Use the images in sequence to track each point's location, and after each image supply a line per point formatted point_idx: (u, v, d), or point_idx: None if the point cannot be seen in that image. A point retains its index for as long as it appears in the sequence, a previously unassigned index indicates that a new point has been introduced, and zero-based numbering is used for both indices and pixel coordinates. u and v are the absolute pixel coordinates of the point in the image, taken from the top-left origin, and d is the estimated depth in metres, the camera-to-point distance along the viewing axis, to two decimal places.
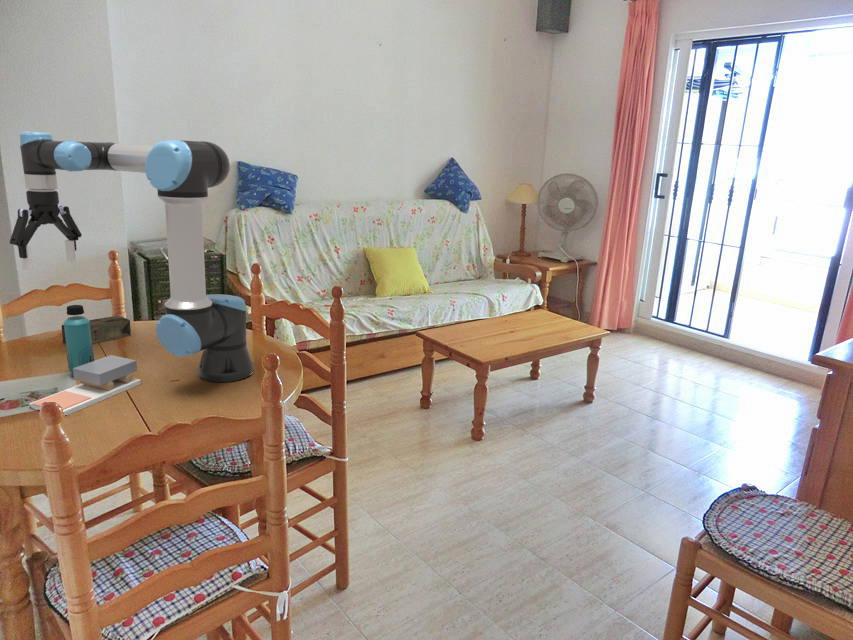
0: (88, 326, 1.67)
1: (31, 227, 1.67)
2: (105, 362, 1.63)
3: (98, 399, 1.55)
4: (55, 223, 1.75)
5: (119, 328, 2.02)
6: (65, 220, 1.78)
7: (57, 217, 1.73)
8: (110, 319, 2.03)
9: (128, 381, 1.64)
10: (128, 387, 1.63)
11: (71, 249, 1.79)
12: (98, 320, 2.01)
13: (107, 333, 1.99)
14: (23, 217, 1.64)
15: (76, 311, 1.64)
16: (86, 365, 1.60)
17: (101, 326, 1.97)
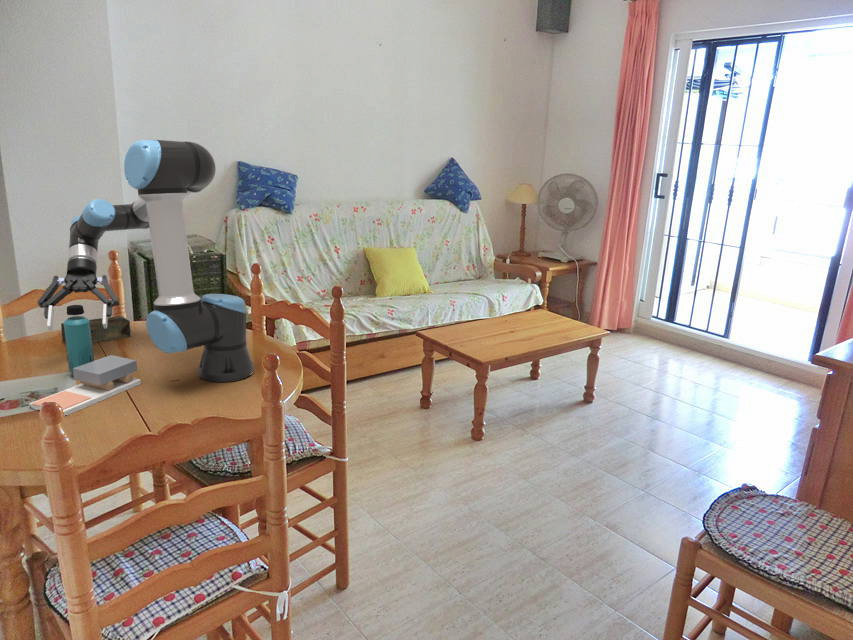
0: (88, 326, 1.67)
1: None
2: (105, 362, 1.63)
3: (98, 399, 1.55)
4: (92, 291, 1.77)
5: (118, 329, 2.01)
6: (106, 290, 1.79)
7: (89, 282, 1.76)
8: (111, 319, 2.03)
9: (128, 381, 1.64)
10: (128, 387, 1.63)
11: (103, 312, 1.74)
12: (99, 320, 2.02)
13: (105, 334, 1.99)
14: None
15: (76, 311, 1.64)
16: (86, 365, 1.60)
17: (98, 326, 1.97)
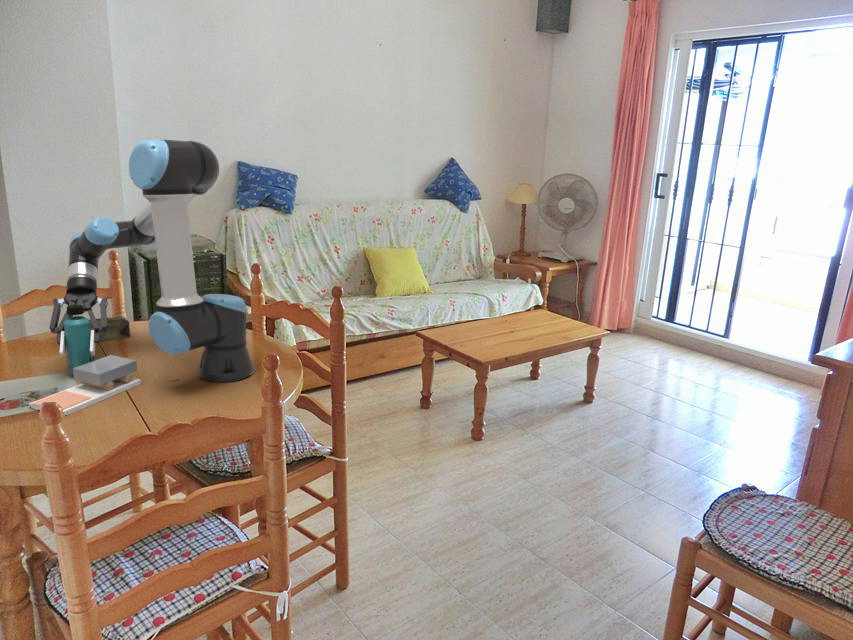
0: (88, 326, 1.67)
1: None
2: (105, 362, 1.63)
3: (98, 399, 1.55)
4: None
5: (117, 329, 2.01)
6: None
7: (87, 302, 1.72)
8: (111, 320, 2.02)
9: (128, 381, 1.64)
10: (128, 387, 1.63)
11: None
12: (99, 320, 2.02)
13: (104, 334, 1.98)
14: (54, 305, 1.70)
15: (76, 311, 1.64)
16: (86, 365, 1.60)
17: None
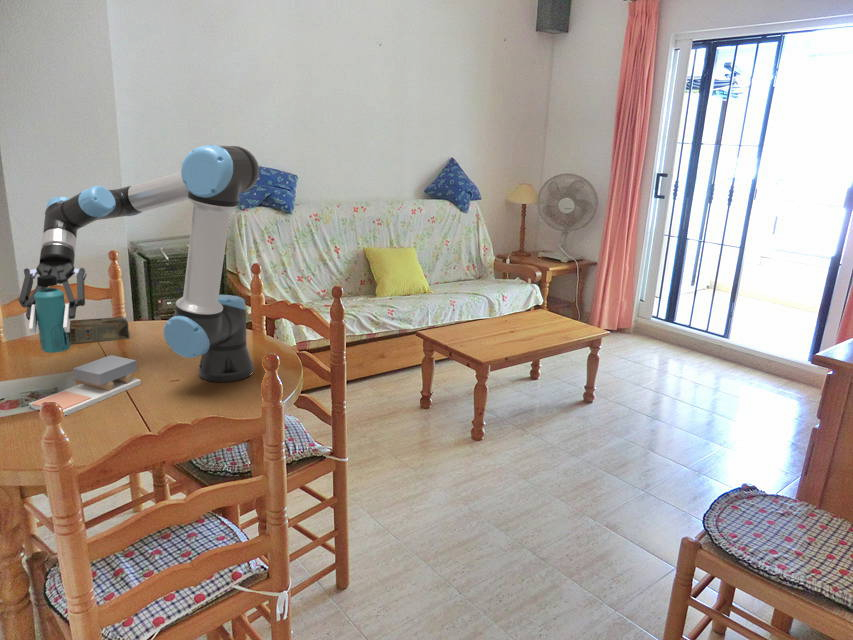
0: (62, 299, 1.49)
1: None
2: (105, 362, 1.63)
3: (98, 399, 1.55)
4: None
5: (115, 330, 2.00)
6: None
7: (62, 273, 1.53)
8: (111, 320, 2.02)
9: (128, 381, 1.64)
10: (128, 387, 1.63)
11: None
12: (100, 320, 2.02)
13: (102, 334, 1.98)
14: (25, 276, 1.51)
15: (47, 282, 1.46)
16: (86, 365, 1.60)
17: (95, 326, 1.97)
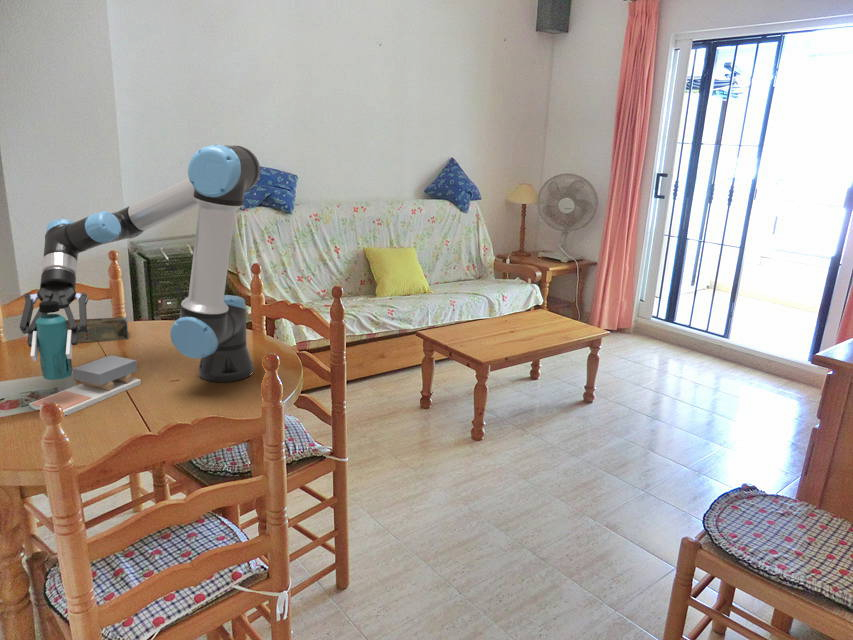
0: (64, 325, 1.46)
1: None
2: (105, 362, 1.63)
3: (98, 399, 1.55)
4: None
5: (114, 330, 2.00)
6: None
7: (64, 298, 1.50)
8: (111, 320, 2.02)
9: (128, 381, 1.64)
10: (128, 387, 1.63)
11: None
12: (100, 320, 2.02)
13: (100, 334, 1.98)
14: None
15: (50, 308, 1.43)
16: (86, 365, 1.60)
17: (93, 326, 1.97)
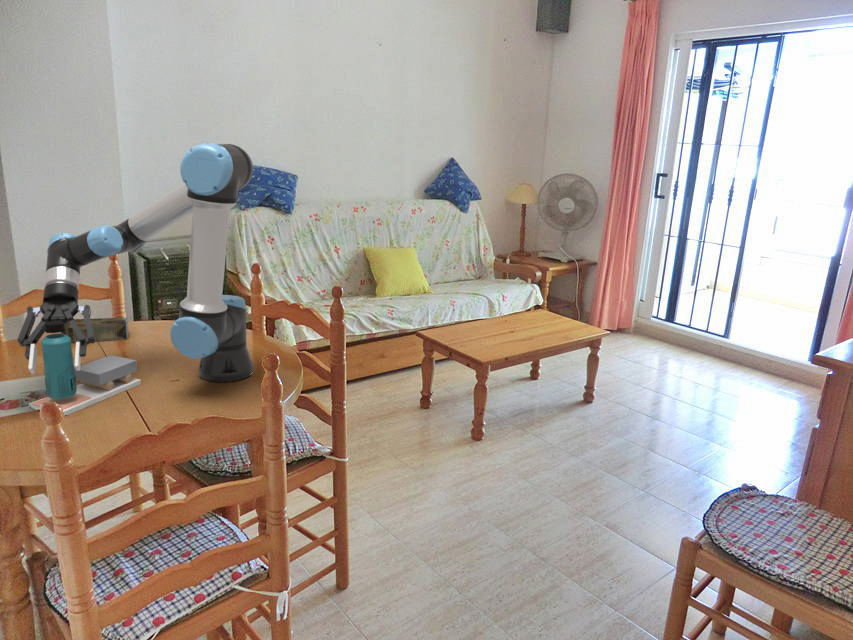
0: (69, 345, 1.48)
1: None
2: (105, 362, 1.63)
3: (98, 399, 1.55)
4: None
5: (113, 330, 2.00)
6: None
7: (67, 311, 1.51)
8: (111, 320, 2.02)
9: (128, 381, 1.64)
10: (128, 387, 1.63)
11: None
12: (100, 320, 2.02)
13: (99, 334, 1.98)
14: None
15: (55, 328, 1.45)
16: (86, 365, 1.60)
17: (93, 326, 1.97)
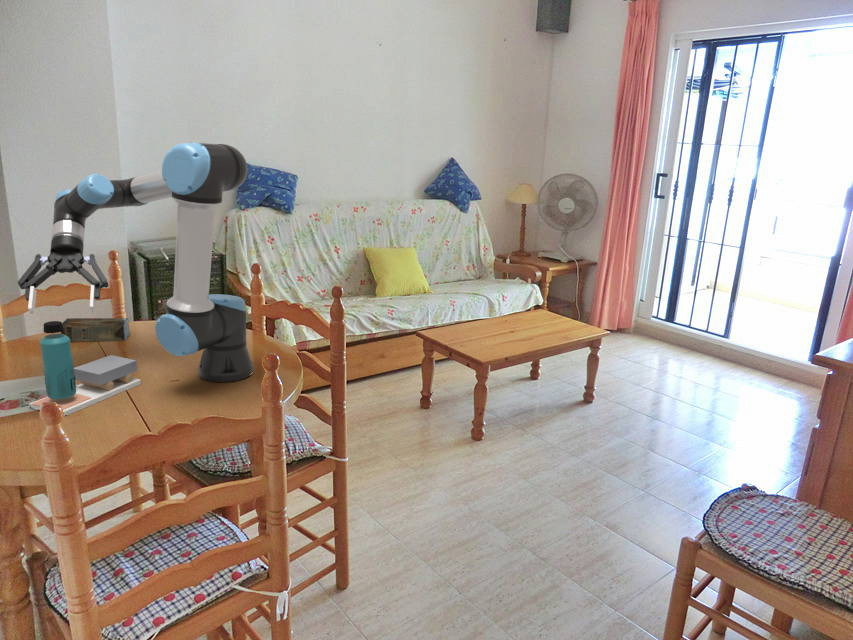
0: (68, 345, 1.47)
1: None
2: (105, 362, 1.63)
3: (98, 399, 1.55)
4: (78, 271, 1.62)
5: (111, 331, 1.99)
6: (94, 270, 1.63)
7: (75, 261, 1.61)
8: (110, 321, 2.01)
9: (128, 381, 1.64)
10: (128, 387, 1.63)
11: (90, 294, 1.58)
12: (101, 320, 2.02)
13: (98, 334, 1.98)
14: None
15: (54, 328, 1.45)
16: (86, 365, 1.60)
17: (91, 326, 1.97)
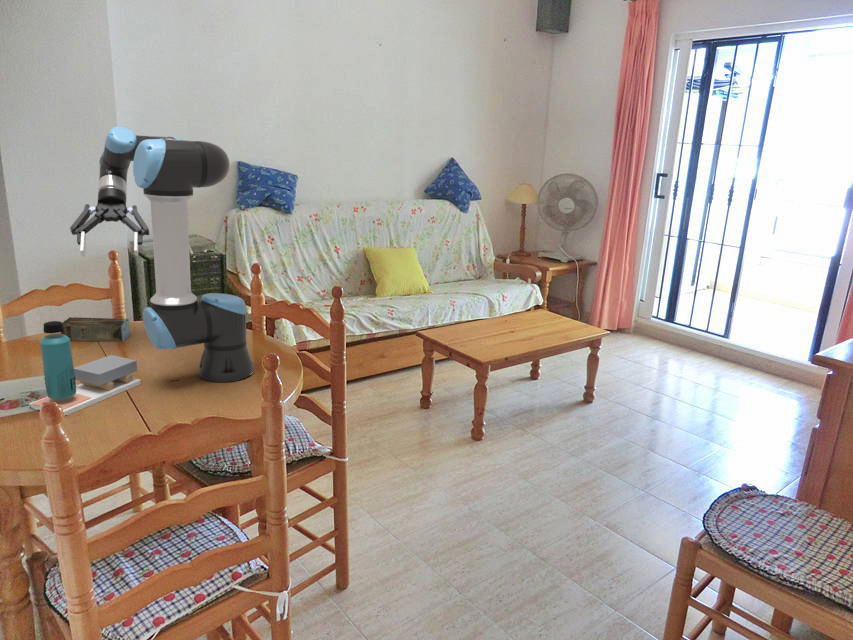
0: (68, 345, 1.47)
1: None
2: (105, 362, 1.63)
3: (98, 399, 1.55)
4: (123, 220, 1.80)
5: (109, 331, 1.98)
6: (136, 220, 1.81)
7: (119, 211, 1.79)
8: (110, 321, 2.01)
9: (128, 381, 1.64)
10: (128, 387, 1.63)
11: None
12: (101, 320, 2.02)
13: (96, 334, 1.98)
14: (84, 210, 1.76)
15: (54, 328, 1.45)
16: (86, 365, 1.60)
17: (89, 326, 1.97)
